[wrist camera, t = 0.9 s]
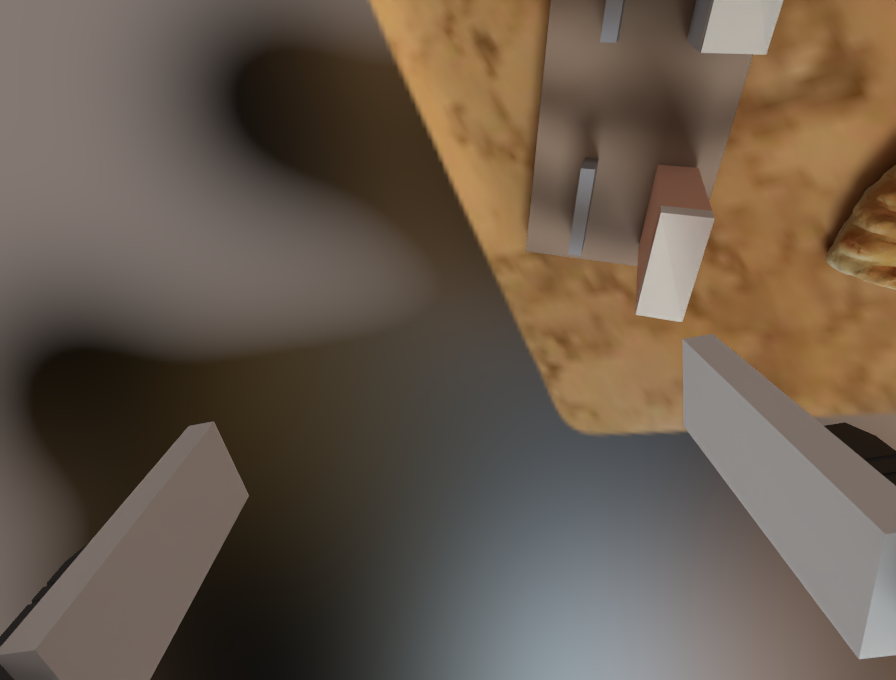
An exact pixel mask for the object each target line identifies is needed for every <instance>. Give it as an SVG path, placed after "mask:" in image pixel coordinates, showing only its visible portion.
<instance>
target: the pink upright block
mask: <svg viewBox="0 0 896 680" xmlns="http://www.w3.org/2000/svg"><path fill="white" fill-rule="evenodd" d="M714 219H715V218H714V215H713V211H712V208H711V205H710V202H709V199H708V196H707V193H706V190H705V187H704V183H703V180H702V177H701V174H700V171H699V168H694V167H681V166H669V165H658V166H657V171H656V175H655V179H654V183H653V188H652V192H651V196H650V200H649V205H648V209H647V213H646V218H645V222H644V226H643V230H642V235H641V239H640V243H639V248H638V265H637V288H636V312H635V315H641V316H647V317H653V318H659V319H666V320H672V321H678V322H682V321H683V318H684V315H685V311H686V308H687V305H688V302H689V299H690V295H691V292H692V289H693V286H694V283H695V280H696V276H697V273H698V270H699V267H700V264H701V260H702V257H703V254H704V251H705V248H706V245H707V241H708V238H709V235H710V232H711V229H712V226H713V222H714Z"/></svg>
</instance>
